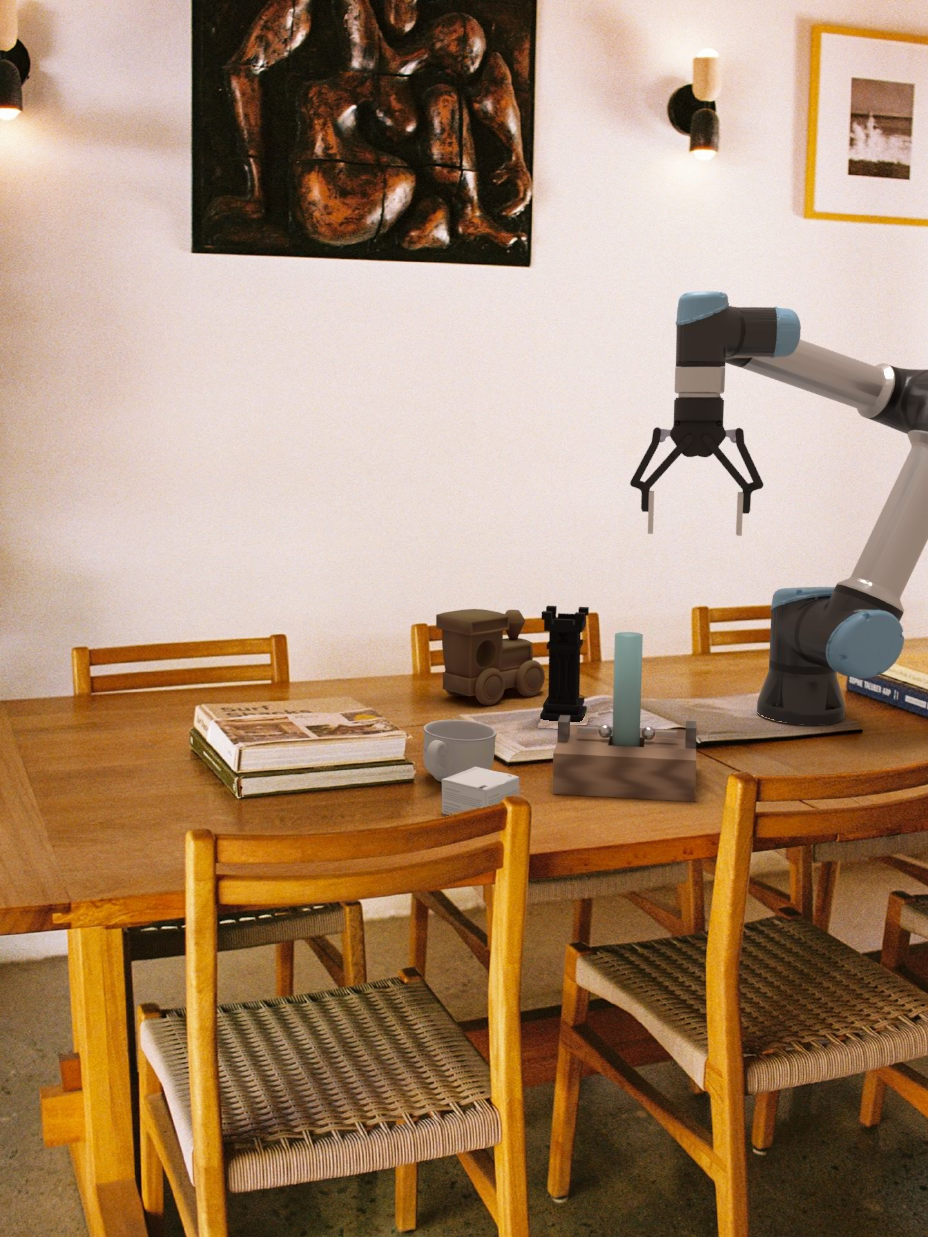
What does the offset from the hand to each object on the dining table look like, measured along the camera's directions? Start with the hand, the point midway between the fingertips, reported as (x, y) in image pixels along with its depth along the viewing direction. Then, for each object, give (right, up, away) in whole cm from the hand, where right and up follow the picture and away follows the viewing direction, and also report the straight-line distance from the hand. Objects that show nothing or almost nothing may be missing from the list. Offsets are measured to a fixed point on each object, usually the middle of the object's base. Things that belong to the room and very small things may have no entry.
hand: (694, 534), depth 196 cm
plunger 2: (-7, -31, -13) cm, 34 cm away
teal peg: (-12, -37, -11) cm, 41 cm away
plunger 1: (-17, -31, -11) cm, 37 cm away
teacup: (-38, -37, -11) cm, 54 cm away
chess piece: (-19, -32, +21) cm, 42 cm away
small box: (-34, -40, -24) cm, 58 cm away
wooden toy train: (-31, -28, +40) cm, 58 cm away
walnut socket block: (-12, -37, -11) cm, 41 cm away
